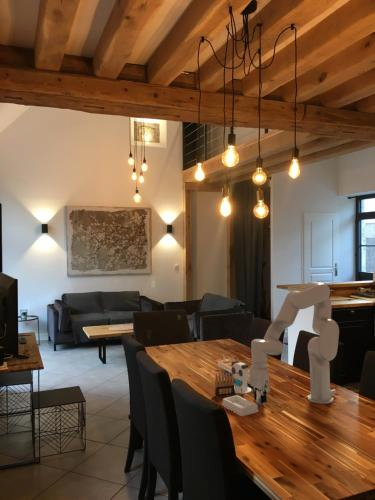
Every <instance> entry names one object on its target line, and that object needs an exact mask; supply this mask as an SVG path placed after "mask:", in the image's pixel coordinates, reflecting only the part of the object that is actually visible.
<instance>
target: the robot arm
mask: <svg viewBox="0 0 375 500" xmlns="http://www.w3.org/2000/svg"><path fill="white" fill-rule="evenodd" d="M330 295H331V289H330V287H329V286H328V285H327V284H326V283H323V282H319V281H309V282H307V283H306V284H305V286H304V290H302V291H299V290H290V291H289V292H287V294H286V296H285V299H284V300H283V303H282V306H281V307H280V310H279V312H278V314H277V316H276V317H275V319H273V321H272V322H271V324H270V325H269V327H268V328H267V330H266V332H265V335H264V336H263V339H261V338H255V339H253V340H251V344H250V346H251V347H250V349H251V352H250V353H251V367H250V371H249V385H250V386H251V387H252V388H251V389H252V391H253V397H254V401H256V389H260V390H261V394H262V395H261V403H267V402H268V401H267V395H268V393H269V392H271V388H270V377H269V370H268V355H269V356H270V355H272V356H278V355H281V354H282V353H283V351H284V344H283V343H282V342H281V341H280V340H279V339H280V337H281V334H282V333H283V332H284V331H285V330H286V329H287V328H289V327H292V326H293V325H294V323H295V320H296V319H297V316H298V314H299V311H300V310H305V309H308V308H311V307H312V306H313V315H312V324H311V325H312V331H313V332H314V333H315V334H316V335H319V336H314V337H311V339H309V340H308V343H307V352H308V358H309V359H308V360H309V376H310V377H309V379H310V381H309V383H310V393H309V394H308V395H307V400H308V401H309V402H311V403H314V404H319V405H327V404H331V403H333V402H334V396H332V395H335V394H337V390H336V389H335V388H334V389H331V383H330V381H331V380H330V379H331V377H330V368H331V367H330V361H333V360H334V358H336V356H337V353H338V348H339V347H338V346H339V337H340V328H339V325H338V323H337V322H336V321H335V320H334V319H332V301H331V298H330ZM263 390H264V392H263Z"/></svg>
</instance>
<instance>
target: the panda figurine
mask: <svg viewBox="0 0 375 500" xmlns="http://www.w3.org/2000/svg"><path fill="white" fill-rule="evenodd" d="M230 364H231V366H232V367H231V373H232V372H233V378H234V388H235V394H239V393H240V395H241V394H243V395H244V393H245V394H248V393H251V392H252V391H253V388H251V387H249V386H248V379H249V378H250V371H249V364H247V363H244V362H241V361H240V362H239V361H238V360H234V361H233V360H232V361H231V363H230Z"/></svg>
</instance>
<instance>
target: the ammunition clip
mask: <svg viewBox="0 0 375 500" xmlns="http://www.w3.org/2000/svg"><path fill="white" fill-rule="evenodd" d="M214 377H215V381H214V382H215V383H214V396H215V395H216V396H220V397H226V395H228V396H236V393H235V388H234V387H235V383H234V377H233V372H232V371H231V373H230V372H228V373H227V372H225V374H224V372H222V374H221V373H219V374H218V373H215V376H214ZM216 396H215V397H216Z"/></svg>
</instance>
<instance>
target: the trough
mask: <svg viewBox="0 0 375 500" xmlns="http://www.w3.org/2000/svg"><path fill="white" fill-rule="evenodd" d="M222 405H223V406H224V407H223V406H222ZM221 406H222V407H223V408H225V409H227V410H229V411H230V410H231V412H232V411H233V413H234V414H236V415H238V416H240V417H245V416H249V415H252V414H255V413H259V409H258V405H257V404H256V403H254V402H252V401H250V400H248V399H246V398H244V397H242V396H240V395H236V394H235V395H231V396H227V397H224V398H222V403H221Z"/></svg>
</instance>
